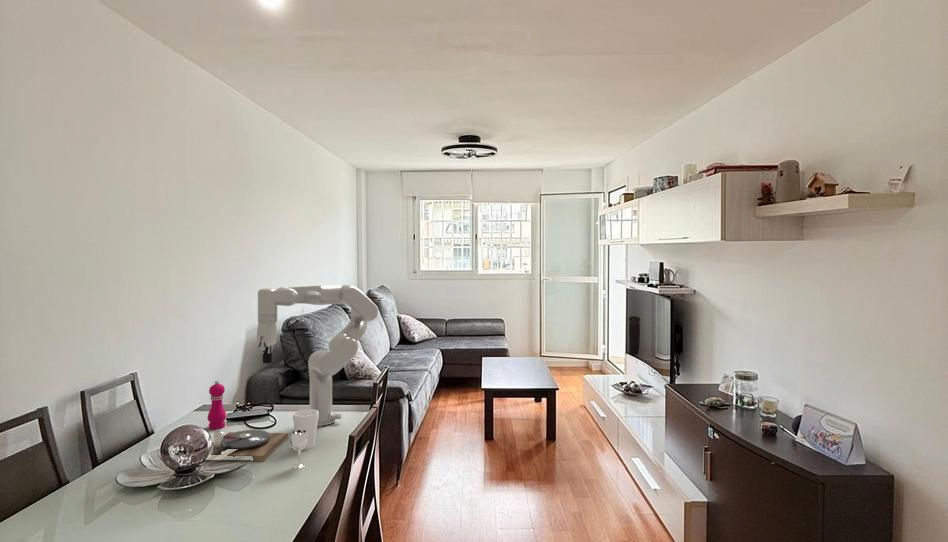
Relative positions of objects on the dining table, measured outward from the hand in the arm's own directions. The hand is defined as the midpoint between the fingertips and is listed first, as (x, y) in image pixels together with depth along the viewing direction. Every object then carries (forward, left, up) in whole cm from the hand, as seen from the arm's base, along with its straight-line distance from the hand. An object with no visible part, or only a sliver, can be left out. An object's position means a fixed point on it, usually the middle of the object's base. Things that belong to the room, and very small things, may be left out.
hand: (267, 362), depth 212 cm
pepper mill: (+24, -6, -29) cm, 38 cm away
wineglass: (-25, +34, -29) cm, 51 cm away
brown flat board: (+1, +18, -29) cm, 34 cm away
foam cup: (-21, +15, -29) cm, 39 cm away
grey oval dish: (+2, +20, -26) cm, 33 cm away
